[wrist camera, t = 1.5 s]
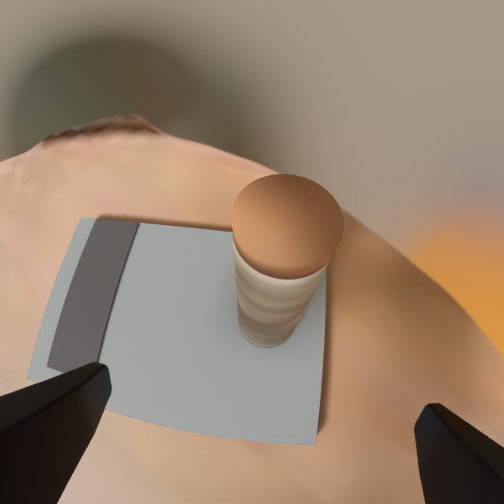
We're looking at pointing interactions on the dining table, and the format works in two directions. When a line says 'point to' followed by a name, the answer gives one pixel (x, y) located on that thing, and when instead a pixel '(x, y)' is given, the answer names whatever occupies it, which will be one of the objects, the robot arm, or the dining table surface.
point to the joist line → (91, 295)
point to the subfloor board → (195, 342)
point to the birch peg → (280, 252)
